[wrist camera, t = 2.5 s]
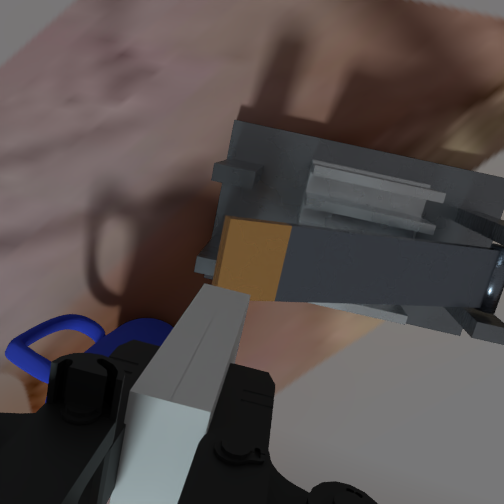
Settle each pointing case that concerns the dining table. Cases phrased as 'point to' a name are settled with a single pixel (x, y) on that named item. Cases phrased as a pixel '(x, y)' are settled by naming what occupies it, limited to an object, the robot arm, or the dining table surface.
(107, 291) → the dining table surface
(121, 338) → the mug
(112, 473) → the robot arm
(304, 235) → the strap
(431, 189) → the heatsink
